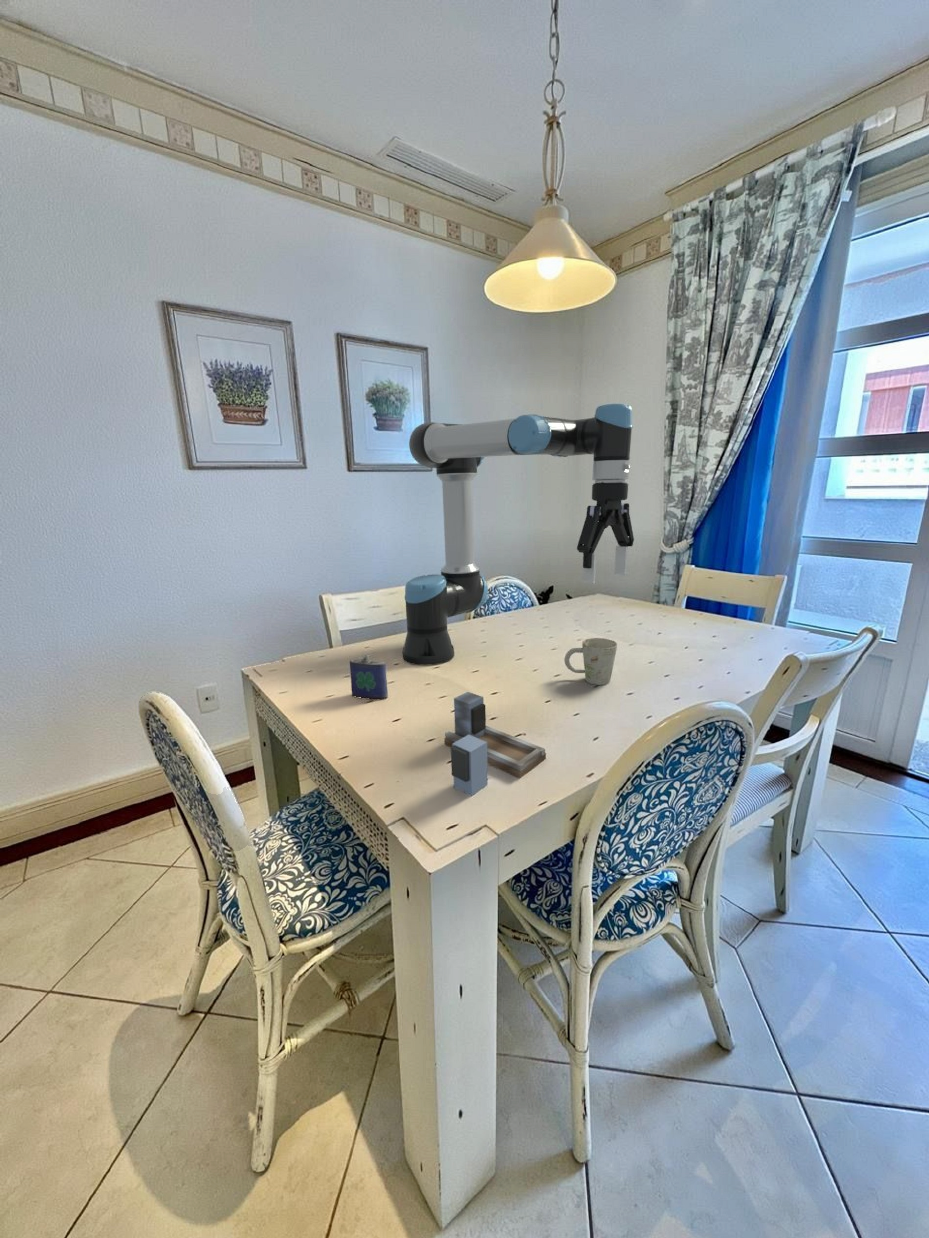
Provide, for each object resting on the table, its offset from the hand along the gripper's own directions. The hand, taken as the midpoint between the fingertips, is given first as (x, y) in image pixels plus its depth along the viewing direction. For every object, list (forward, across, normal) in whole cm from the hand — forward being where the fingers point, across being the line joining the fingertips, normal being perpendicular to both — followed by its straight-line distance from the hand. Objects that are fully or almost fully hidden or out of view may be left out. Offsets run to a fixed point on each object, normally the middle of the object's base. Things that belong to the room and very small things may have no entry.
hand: (605, 578), depth 112 cm
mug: (+27, +3, +5) cm, 28 cm away
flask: (+27, -41, +37) cm, 62 cm away
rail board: (+27, -39, -1) cm, 48 cm away
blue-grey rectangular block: (+27, -50, -6) cm, 57 cm away
